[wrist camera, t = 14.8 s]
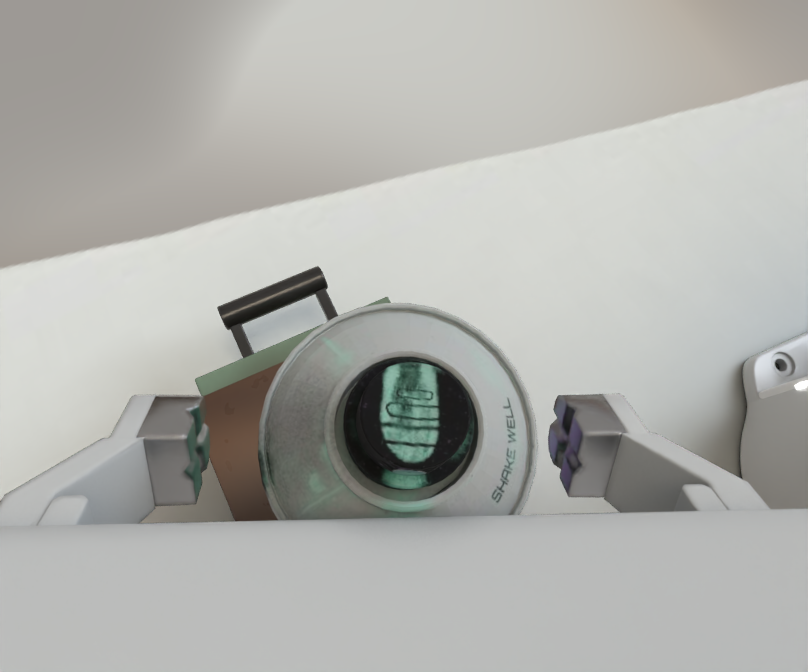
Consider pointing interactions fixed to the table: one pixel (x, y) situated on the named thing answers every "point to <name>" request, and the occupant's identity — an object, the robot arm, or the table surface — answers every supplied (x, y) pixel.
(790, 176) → the table surface
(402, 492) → the spray can
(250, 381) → the cabinet
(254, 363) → the cabinet drawer
